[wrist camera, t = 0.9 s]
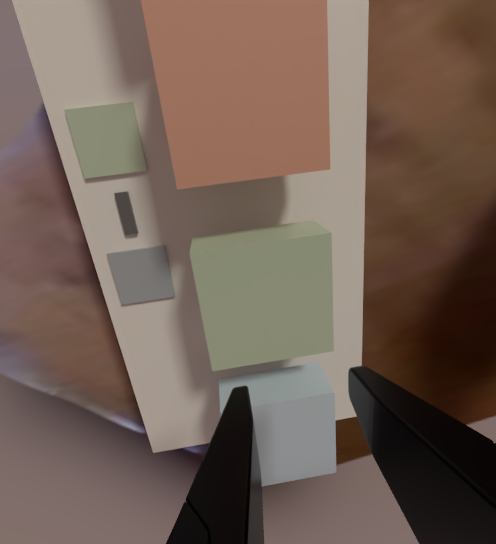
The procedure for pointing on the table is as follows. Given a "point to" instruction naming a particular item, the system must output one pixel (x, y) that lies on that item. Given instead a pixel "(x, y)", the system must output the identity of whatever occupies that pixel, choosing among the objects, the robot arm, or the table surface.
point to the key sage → (265, 293)
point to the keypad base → (188, 202)
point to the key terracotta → (241, 87)
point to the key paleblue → (290, 420)
